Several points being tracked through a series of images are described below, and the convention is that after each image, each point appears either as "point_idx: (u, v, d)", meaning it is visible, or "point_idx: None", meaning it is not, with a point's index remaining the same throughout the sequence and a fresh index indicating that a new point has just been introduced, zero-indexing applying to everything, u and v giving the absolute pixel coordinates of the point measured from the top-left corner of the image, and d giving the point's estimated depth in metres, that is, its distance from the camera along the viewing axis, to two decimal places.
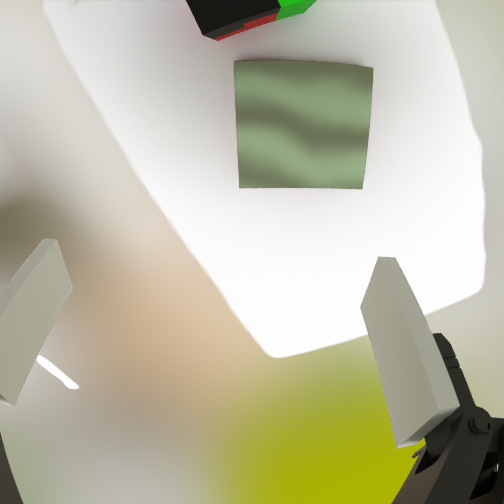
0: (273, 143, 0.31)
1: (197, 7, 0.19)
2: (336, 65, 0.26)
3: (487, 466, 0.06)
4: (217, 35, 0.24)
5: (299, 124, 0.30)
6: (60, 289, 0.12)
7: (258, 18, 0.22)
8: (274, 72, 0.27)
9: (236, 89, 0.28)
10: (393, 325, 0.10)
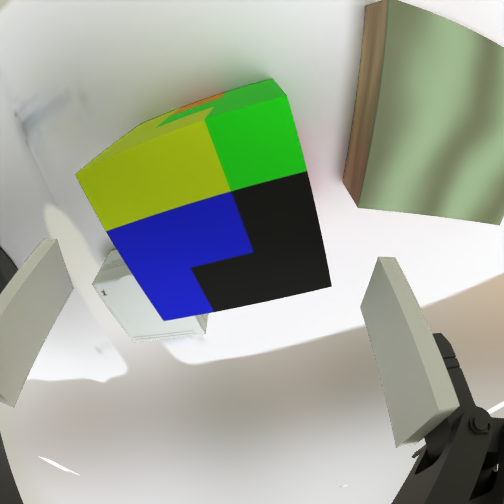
0: (474, 175, 0.18)
1: (282, 289, 0.17)
2: (387, 57, 0.14)
3: (487, 466, 0.06)
4: None
5: (462, 134, 0.16)
6: (60, 289, 0.12)
7: None
8: (387, 155, 0.18)
9: (397, 209, 0.20)
10: (393, 325, 0.10)
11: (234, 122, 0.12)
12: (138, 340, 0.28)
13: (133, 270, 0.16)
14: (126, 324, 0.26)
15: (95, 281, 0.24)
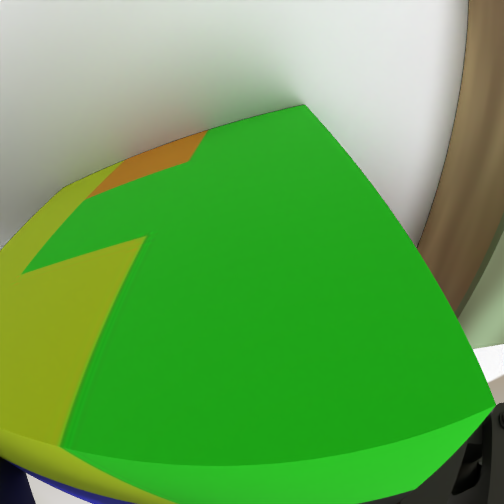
0: None
1: None
2: None
3: (471, 459, 0.06)
4: None
5: None
6: None
7: None
8: None
9: (485, 344, 0.10)
10: None
11: (191, 480, 0.02)
12: None
13: (61, 489, 0.06)
14: None
15: None
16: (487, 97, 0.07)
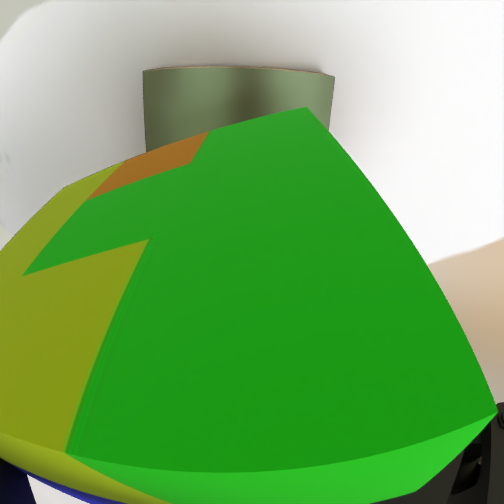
0: None
1: None
2: (146, 119, 0.22)
3: (471, 459, 0.06)
4: None
5: None
6: None
7: None
8: None
9: None
10: None
11: (197, 486, 0.02)
12: None
13: (61, 490, 0.06)
14: None
15: None
16: None
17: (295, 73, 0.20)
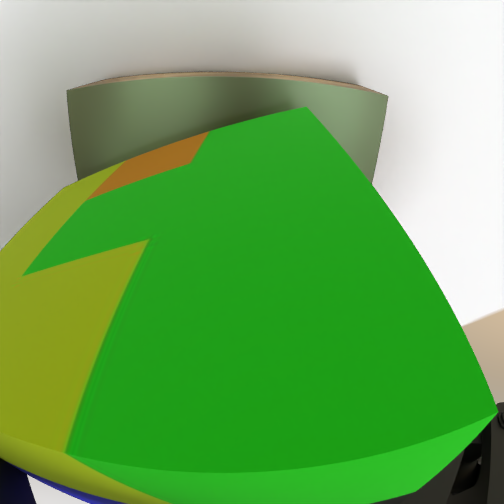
0: None
1: None
2: (79, 167, 0.13)
3: (471, 459, 0.06)
4: None
5: None
6: None
7: None
8: None
9: None
10: None
11: (197, 486, 0.02)
12: None
13: (61, 490, 0.06)
14: None
15: None
16: None
17: (322, 87, 0.11)
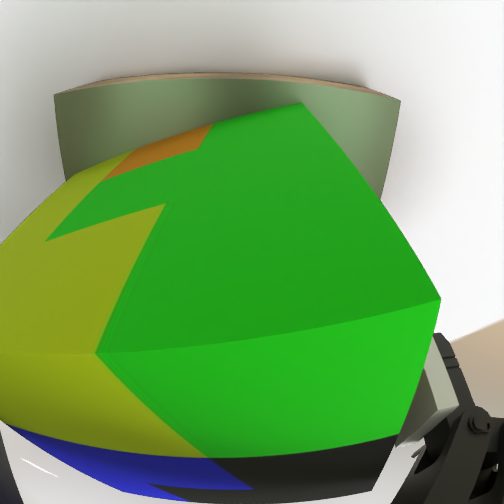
0: None
1: (296, 500, 0.08)
2: (68, 177, 0.12)
3: (487, 466, 0.06)
4: None
5: None
6: None
7: None
8: None
9: None
10: None
11: (206, 376, 0.03)
12: None
13: (63, 460, 0.07)
14: None
15: None
16: None
17: (330, 90, 0.10)
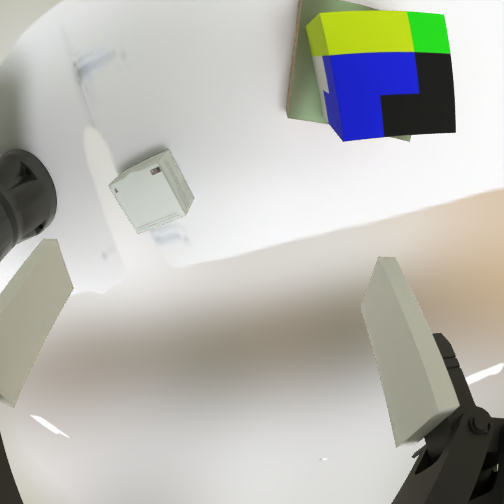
0: None
1: (429, 126, 0.20)
2: (300, 27, 0.25)
3: (487, 466, 0.06)
4: None
5: None
6: (60, 289, 0.12)
7: None
8: (304, 84, 0.28)
9: (316, 120, 0.30)
10: (393, 325, 0.10)
11: (420, 18, 0.15)
12: (140, 231, 0.39)
13: (338, 89, 0.20)
14: (131, 216, 0.38)
15: (110, 183, 0.35)
16: (295, 35, 0.27)
17: None
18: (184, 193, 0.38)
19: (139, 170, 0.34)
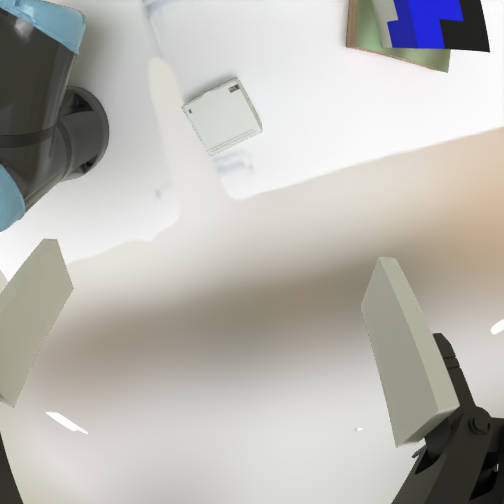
0: None
1: (472, 45, 0.21)
2: None
3: (487, 466, 0.06)
4: None
5: None
6: (60, 289, 0.12)
7: None
8: (366, 20, 0.28)
9: (377, 50, 0.31)
10: (393, 325, 0.10)
11: None
12: (213, 152, 0.39)
13: (411, 11, 0.20)
14: (205, 137, 0.38)
15: (183, 105, 0.36)
16: None
17: None
18: (256, 115, 0.38)
19: (216, 89, 0.34)
